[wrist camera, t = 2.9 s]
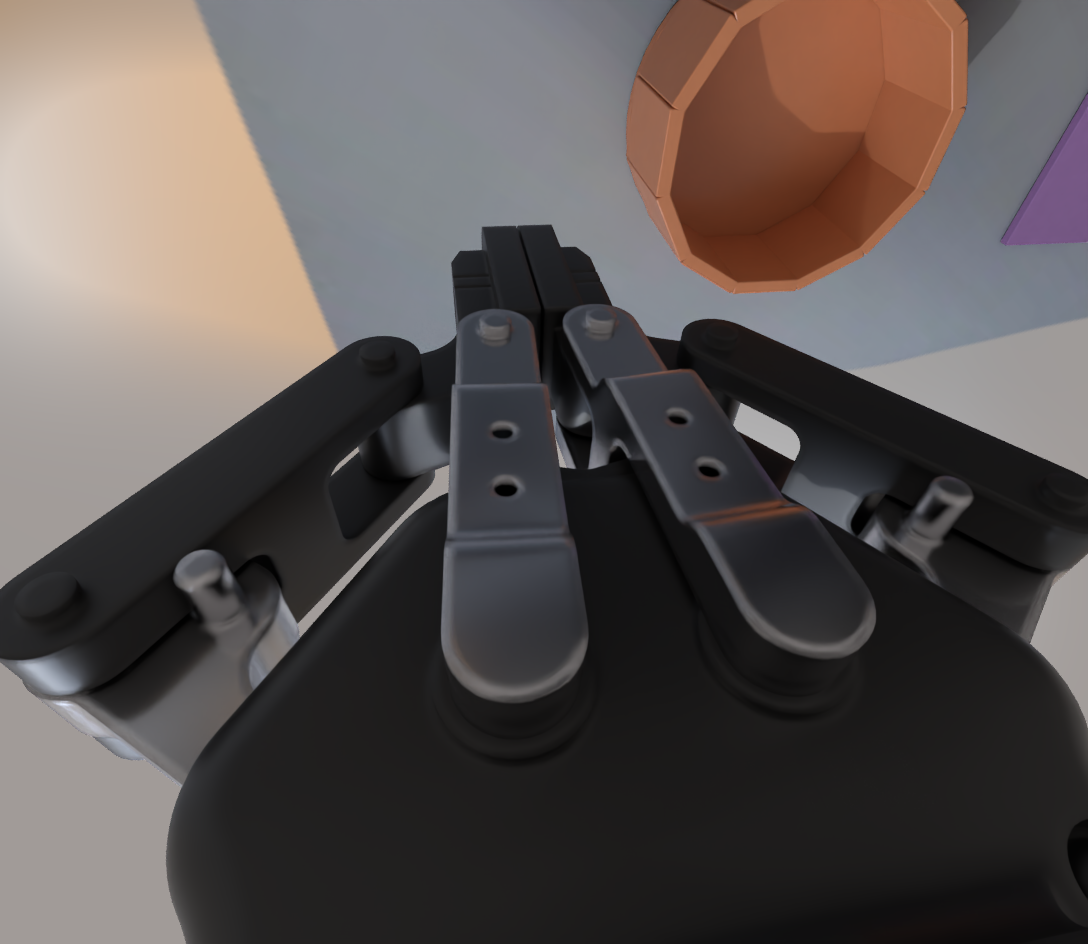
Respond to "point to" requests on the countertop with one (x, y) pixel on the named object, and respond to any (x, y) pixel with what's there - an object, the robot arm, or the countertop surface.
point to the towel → (1058, 193)
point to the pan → (792, 130)
